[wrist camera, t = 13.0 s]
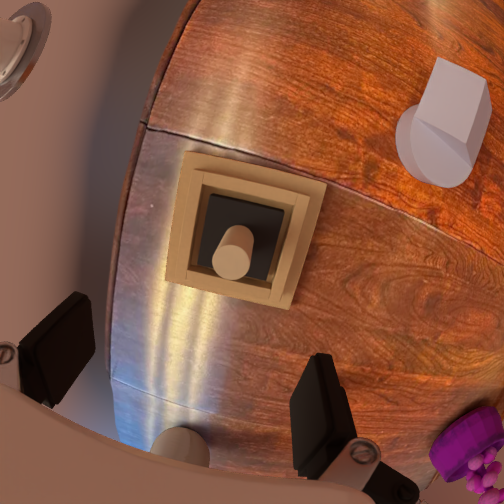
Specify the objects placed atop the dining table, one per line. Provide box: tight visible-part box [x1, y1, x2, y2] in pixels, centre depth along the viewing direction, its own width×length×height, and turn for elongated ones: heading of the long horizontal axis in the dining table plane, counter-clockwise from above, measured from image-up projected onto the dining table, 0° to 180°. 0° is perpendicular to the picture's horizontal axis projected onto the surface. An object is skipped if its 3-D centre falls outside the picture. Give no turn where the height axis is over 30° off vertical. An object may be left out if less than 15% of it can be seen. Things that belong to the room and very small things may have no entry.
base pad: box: [165, 151, 327, 310], centre depth 27 cm, size 14×14×2 cm
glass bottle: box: [150, 427, 210, 468], centre depth 28 cm, size 10×10×28 cm
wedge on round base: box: [396, 57, 492, 188], centre depth 20 cm, size 9×7×13 cm
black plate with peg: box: [197, 193, 285, 281], centre depth 24 cm, size 7×7×8 cm
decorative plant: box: [429, 406, 504, 504], centre depth 26 cm, size 19×18×30 cm
